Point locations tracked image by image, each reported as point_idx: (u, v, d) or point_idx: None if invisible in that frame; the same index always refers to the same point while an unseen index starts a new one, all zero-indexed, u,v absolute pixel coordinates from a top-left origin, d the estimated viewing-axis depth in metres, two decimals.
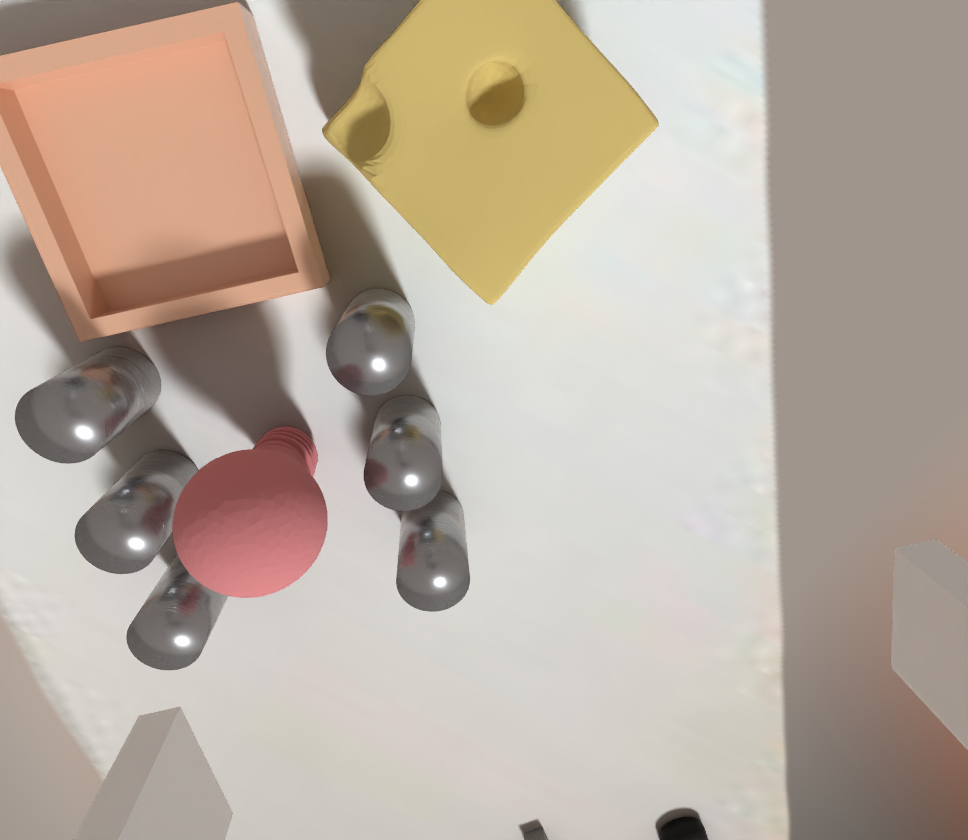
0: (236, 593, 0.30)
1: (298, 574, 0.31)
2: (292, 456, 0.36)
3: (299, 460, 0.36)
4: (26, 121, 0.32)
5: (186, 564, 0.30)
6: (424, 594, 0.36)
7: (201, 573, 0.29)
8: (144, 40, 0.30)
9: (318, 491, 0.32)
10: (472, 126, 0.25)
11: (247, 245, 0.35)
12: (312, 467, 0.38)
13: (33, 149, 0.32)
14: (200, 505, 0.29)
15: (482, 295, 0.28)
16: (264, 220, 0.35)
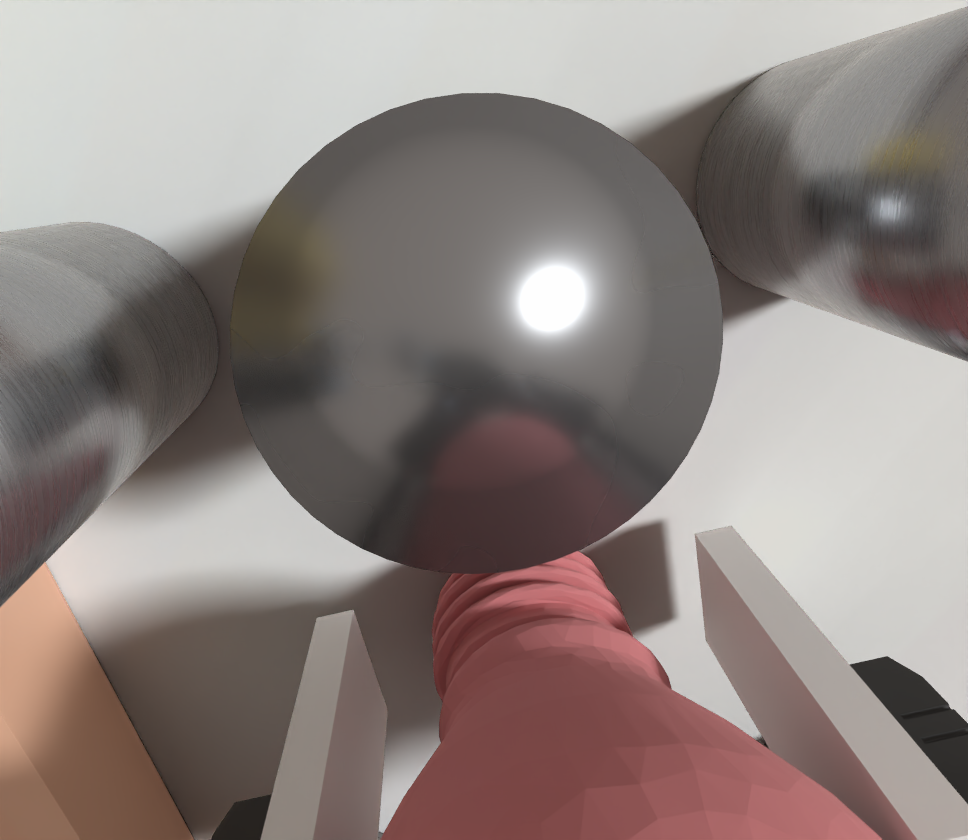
0: None
1: None
2: (468, 690, 0.10)
3: (488, 666, 0.10)
4: None
5: None
6: None
7: None
8: None
9: None
10: None
11: None
12: (544, 588, 0.12)
13: None
14: None
15: None
16: None
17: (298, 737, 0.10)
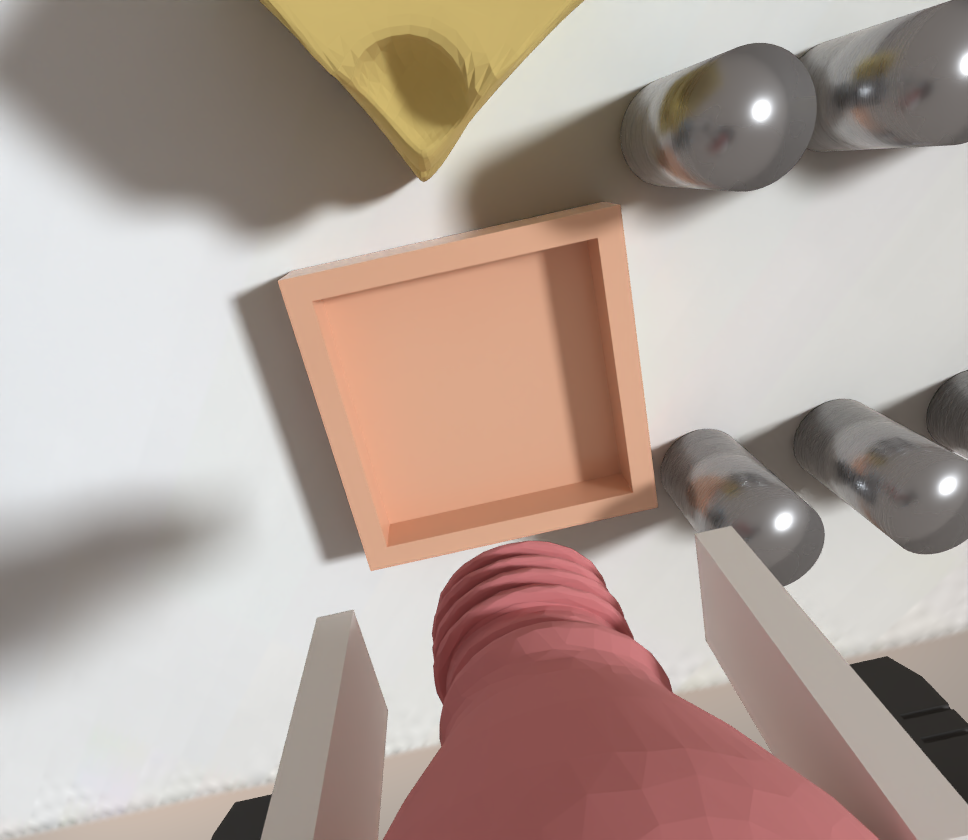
0: None
1: None
2: (469, 693, 0.10)
3: (488, 669, 0.10)
4: (418, 518, 0.30)
5: None
6: None
7: None
8: (330, 391, 0.26)
9: None
10: None
11: (554, 305, 0.27)
12: (544, 591, 0.12)
13: (447, 517, 0.30)
14: None
15: None
16: (525, 281, 0.27)
17: (298, 737, 0.10)
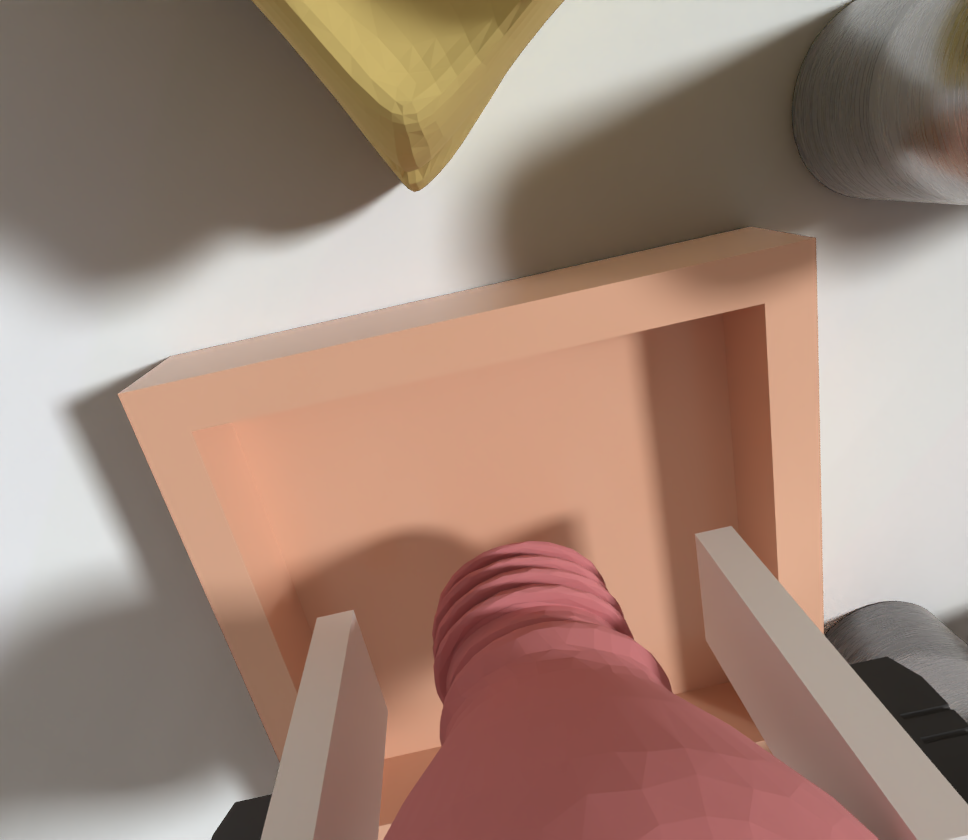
0: None
1: None
2: (469, 693, 0.10)
3: (488, 670, 0.10)
4: (409, 754, 0.18)
5: None
6: None
7: None
8: (237, 590, 0.14)
9: None
10: None
11: (654, 414, 0.15)
12: (544, 591, 0.12)
13: None
14: None
15: None
16: (603, 373, 0.15)
17: (298, 737, 0.10)
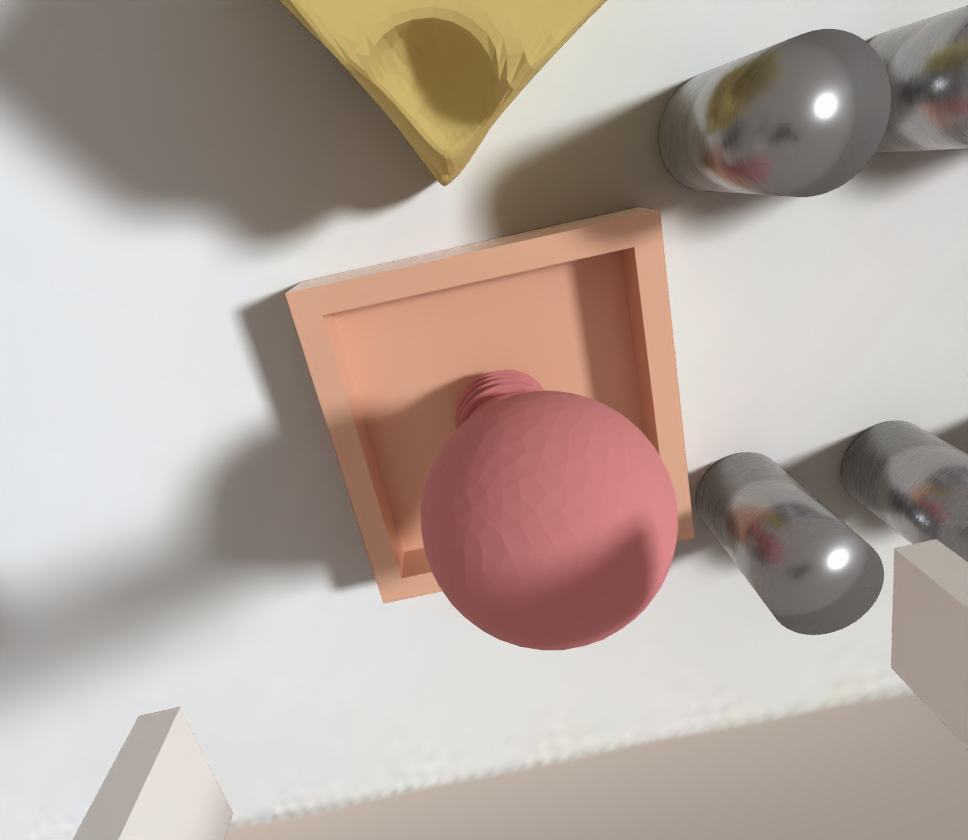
0: (651, 581, 0.16)
1: (639, 468, 0.16)
2: None
3: None
4: None
5: (586, 644, 0.17)
6: None
7: (599, 633, 0.16)
8: (341, 412, 0.24)
9: (497, 407, 0.17)
10: None
11: (584, 319, 0.25)
12: (512, 384, 0.23)
13: None
14: (476, 617, 0.17)
15: None
16: (552, 293, 0.25)
17: None
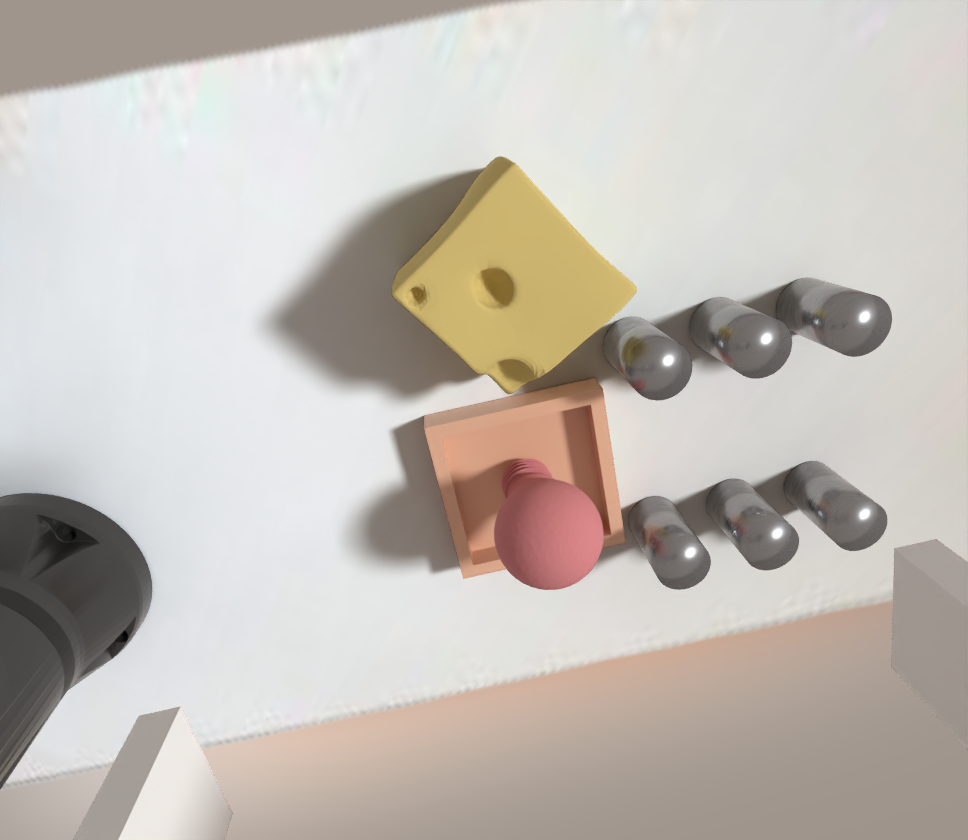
0: (590, 559, 0.41)
1: (584, 514, 0.40)
2: (515, 487, 0.46)
3: (519, 482, 0.46)
4: (488, 547, 0.53)
5: (564, 586, 0.41)
6: (872, 333, 0.42)
7: (569, 581, 0.41)
8: (447, 482, 0.48)
9: (527, 488, 0.42)
10: (514, 304, 0.37)
11: (567, 432, 0.50)
12: (531, 468, 0.48)
13: None
14: (519, 574, 0.41)
15: (630, 297, 0.37)
16: (551, 420, 0.49)
17: None
